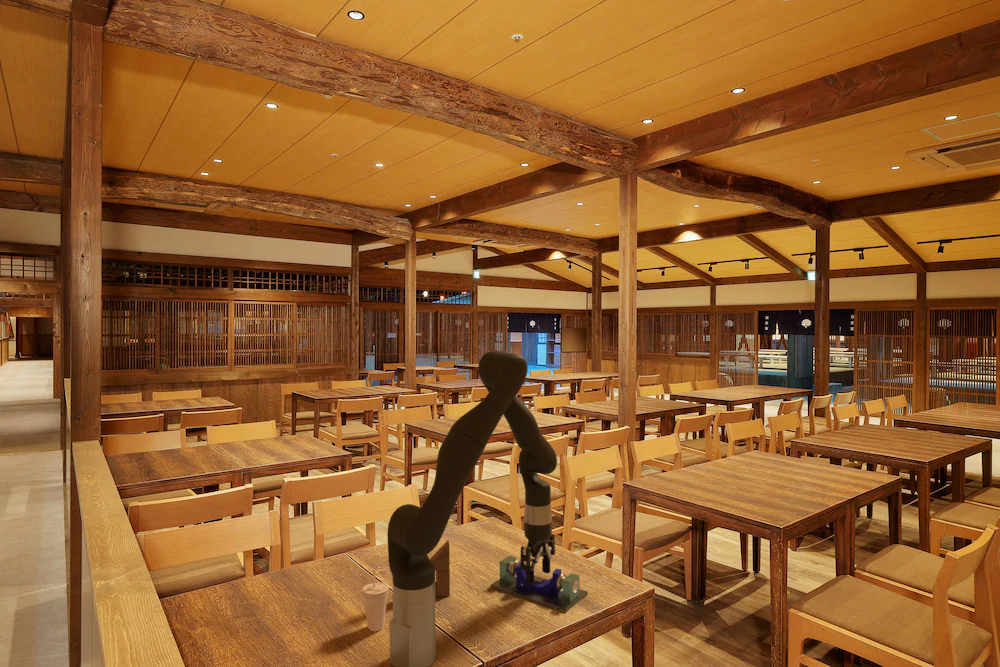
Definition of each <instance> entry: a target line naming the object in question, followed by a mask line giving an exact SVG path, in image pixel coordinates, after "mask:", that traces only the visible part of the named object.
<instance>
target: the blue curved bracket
mask: <svg viewBox="0 0 1000 667" xmlns="http://www.w3.org/2000/svg"><path fill="white" fill-rule="evenodd" d="M524 565H525V562H524ZM561 573H562V569H561V568H555V569H554V571H553V572H552V577H551V578H549V579H548V580H542V581H541V582H538V581H535V580H534V584H532V585H531V584H527V583H526V571H525V570H523V569H520V563H519V564H518V565H517V566H516V589H522V590H527V591H533V592H538V593H544V594H549V595H555V596H559V594H560V593H561V591H558V590H557V587H556V582H557V578H558V576H559V575H560V574H561Z"/></svg>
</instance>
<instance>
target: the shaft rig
mask: <svg viewBox="0 0 1000 667" xmlns="http://www.w3.org/2000/svg"><path fill="white" fill-rule="evenodd" d="M519 563H520V560H517V557H515V556H511V555H508V556H506V557H505V558H503V559H501V560H499V579H497V580H495V581H494V582H492V583H491V584H490V588H491V589H493V590H496V591H500V592H504V593H506V594H509V595H512V596H515V597H518V598H520V599H523V600H527V601H530V602H533V603H536V604H539V605H542V606H545V607H548V608H551V609H554V608H556V609H555V610H557V609H559V610H558V611H560V610H562V611H561V612H563V611H565V612H564V613H567V612H569V611H570V610H571V609H572V608H574V607H575V605H577V604H579V602H581V601H582V600H583V599H584V598H585V597H586V596H587V595H588V592H589V591H587V590H584V589H580V575H579V574H576V573H573V572H571V573H570V574H568V575H567V574H565V573H562V572H561V574H560V575H559V576H558V578H557V582H556V587H557V590H558V591H561V593H560V594H559V596H555V595H549V594H544V593H538V592H533V591H527V590H522V589H516V566H517V565H518V564H519ZM534 580H535V581H538V582H541V581H542V580H549V579H547V578H545V577H541V576H537V575H534ZM570 608H571V609H570ZM569 609H570V610H569ZM566 611H567V612H566Z"/></svg>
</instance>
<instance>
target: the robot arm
mask: <svg viewBox="0 0 1000 667" xmlns="http://www.w3.org/2000/svg"><path fill="white" fill-rule="evenodd" d="M477 366H478V367H477V368H478V375H479V378H480V381H481V382H482V385H484V387H485V389H486V390H487V391H488V393H487V394H486V395H485V396H484V398H483V399H482V400H481V401H480V402H479V403H478V404H476V405H475V406H474V407H473V408H471V409H469V411H467V412H465V413H464V414H463V415H462V416H461V417H459V418H458V419H457V420H456V421H455V422H454V423H453V425H452V426H451V427H450V429H449V431H448V432H447V434H446V436H445V437H444V439H443V441H442V443H441V444H440V447H439V450H438V454H437V460H436V465H435V466H436V470H435V477H434V483H433V485H432V487H431V489H430V491H429V494H428V495H427V497H426V499H425V500H424V503H423V504H422V506H417V505H415V504H411V503H410V504H409V503H407V504H402V505H400V506H399V507H397V508H396V509H395V510H394V511H393V513H392V514H391V516H390V519H389V521H388V525H387V554H388V555H387V556H388V566H389V571H390V573H391V576H392V619H390V620H389V625H388V626H389V665H390V666H392V667H431V666H432V664H434V663H435V661H436V660H437V659H436V658H437V656H436V655H437V653H436V650H437V648H436V647H437V645H436V644H437V643H436V641H437V639H436V636H437V634H436V630H437V628H436V597H435V581H436V571H435V568H434V565H433V564H432V562H431V561H430V558H429V554H430V553H431V552H433V551H434V549H436V547H437V546H438V544H439V542H440V540H441V538H442V537H443V534H444V532H445V530H446V527H447V525H448V523H449V520H450V518H451V515H452V513H453V510H454V508H455V506H456V504H457V501H458V499H459V497H460V495H461V493H462V492H463V489H464V488H465V485H466V483H467V481H468V480H469V478H470V475H471V474H472V472H473V470H474V468H475V467H476V465H477V463H478V462H479V460H480V457H481V456H482V454H483V453H484V451H485V449H486V446H487V444H488V443H489V440H490V438H491V436H492V435H493V434H494V431H495V430H496V427H497V425H498V424H499V423H500V421H501V419H502V418H503V416H504V418H505V419H506V422H507V424H508V426H509V428H510V431H511V432H512V435H513V438H514V441H515V442H516V444H517V446H518V447H519V448H520V449H521V450H520V451H519V454H518V465H519V466H518V467H519V469H520V470H519V471H520V474H521V478H522V482H523V485H524V493H525V494H524V496H525V497H524V499H525V500H524V503H525V504H524V509H523V510H524V512H523V514H524V515H523V516H524V521H523V522H524V525H523V526H524V530H523V531H524V533H523V534H524V536H525V538H526V539H527V541H528V542H527V545H526V546H521V547H520V558H519V559H520V560H519V561H520V569H523V570H525V571H526V583H527V584H531V585H532V584H534V576H535V571H534V570H535V567H536V564H537V563H538V562H539V559H540V558H541V557H542V559H541V561H542V563H541V564H542V566H541V570H542V572H543V573H545V574H550V573H551V560H552V558H553V556H555V554H556V544H555V543H556V542H555V541H556V540H555V534H553V531H552V530H553V529H552V525H553V524H552V521H553V520H552V518H553V517H552V515H553V514H552V504H551V501H552V499H551V496H552V495H551V490H552V489H551V484H550V483H549V482H548V481H546V480H544V479H542V478H541V477H540V476H539V475H538V474H541V475H550V474H552V473H553V472H554V471H555V470H556V468H557V465H558V458H557V457H558V456H557V453H556V451H555V450H554V448H553V447H552V445H551V443H550V442H549V440H547V439H546V438H545V436H544V435H543V434H542V433H541V430H540V428H539V425H538V422H537V419H536V418H535V416H534V414H533V412H531V410H530V409H529V408H528V406H526V404H525V403H524V402H523V401H522V400H521V399H520V397H519V396H518V393H519V391H520V390H521V388H522V386H524V383H525V380H526V379H527V374H528V370H529V369H528V363H527V359H525V357H523V356H521V355H520V354H516V353H511V352H506V351H505V352H504V351H497V350H491V351H487V352H485V353H484V354H483V355H482V357H481V358H480V359H479V362H478V365H477ZM524 563H525V565H524Z"/></svg>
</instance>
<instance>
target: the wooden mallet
mask: <svg viewBox="0 0 1000 667" xmlns="http://www.w3.org/2000/svg"><path fill="white" fill-rule="evenodd" d="M429 559H430V561H431V562H432V564H433V565H434V568H435V598H436V597H437V598H440V596H443V597H449V596H450V595H451V590H450V589H451V587H450V586H451V584H450V583H451V578H450V576H451V574H450V572H451V571H450V569H451V568H450V564H451V562H450V540H449V539H447V540H446V541H445V542H444V543H443V545H441V547H440V548H439V549H438V550H437V551H435V553H434V554H433V555H432V556H431V557H430V558H429Z"/></svg>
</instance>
